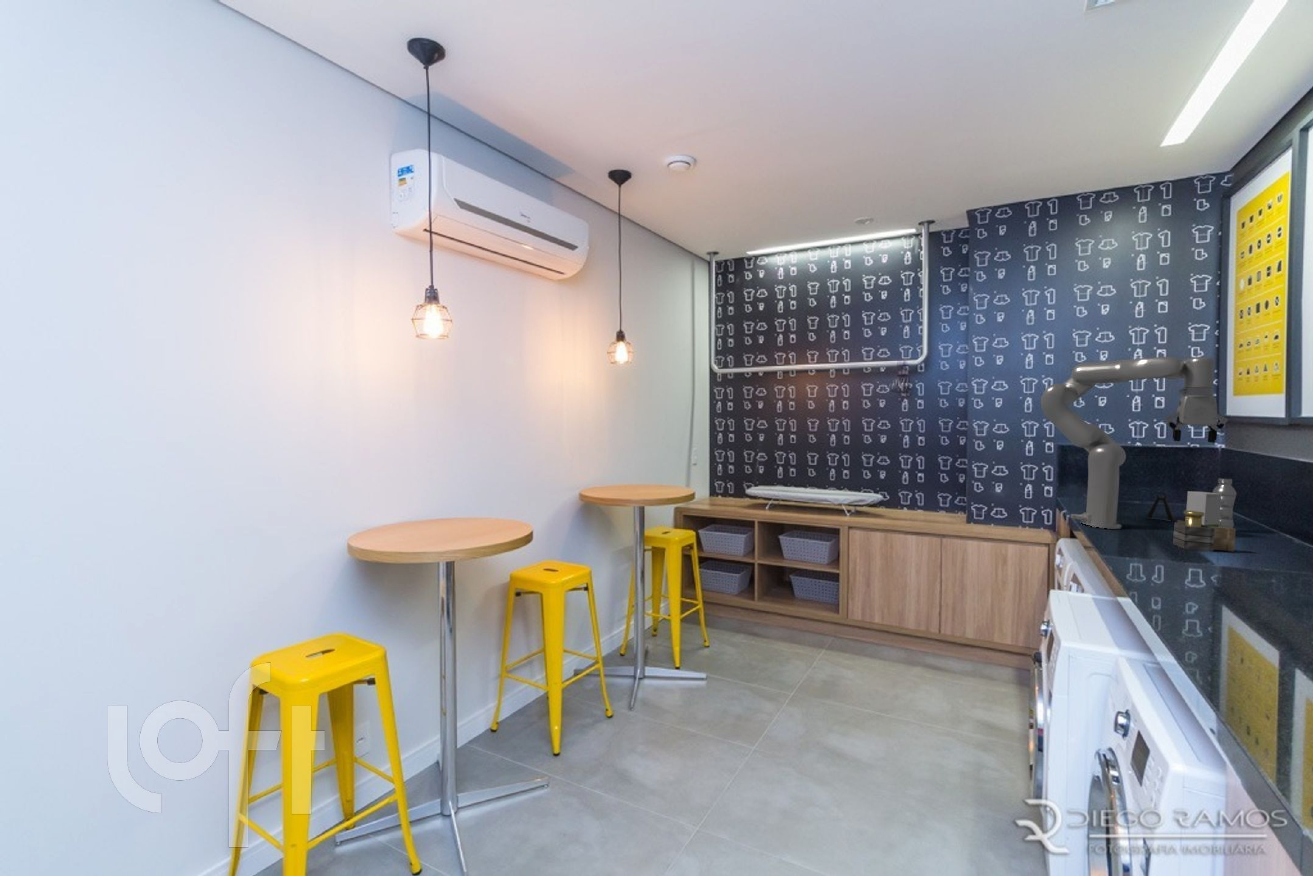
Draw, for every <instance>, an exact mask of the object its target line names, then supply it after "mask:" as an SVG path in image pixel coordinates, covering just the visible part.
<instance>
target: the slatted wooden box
mask: <svg viewBox="0 0 1313 876" xmlns="http://www.w3.org/2000/svg"><path fill="white" fill-rule="evenodd" d="M1173 523H1174V524H1173V526H1174V527H1173V531H1178V532H1181V533H1183V534H1190V535H1202V536H1214V532H1215V529H1214V528H1211V527H1208V526H1206V525H1203V524H1201V527H1192V526H1186V525H1185V520H1182V519H1177V520H1176V521H1174V522H1173ZM1172 539H1173V540H1172V545H1173V544H1174V545H1173V546H1175V545H1177V546H1178V547H1177V546H1176V547H1177V548H1180V547H1181V548H1180V549H1182V548H1183V550H1185V549H1186V551H1187V550H1188V551H1197V550H1199V551H1200V552H1208V551H1210V553H1212V552H1214V549H1213V545H1214V544H1212V543H1205V542H1187V541H1184V540H1181V539H1179V538H1176V537H1174V536H1173V538H1172ZM1199 551H1198V552H1199Z"/></svg>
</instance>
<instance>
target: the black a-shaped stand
mask: <svg viewBox="0 0 1313 876" xmlns="http://www.w3.org/2000/svg"><path fill="white" fill-rule="evenodd" d="M1161 492H1162V494H1164V496H1160V495H1159V494H1160V493H1161ZM1167 494H1168V493H1167V492H1166V491H1165V490H1163V491H1162V490H1158V491H1157V493H1156V498H1155V500H1154V503H1153V504H1152V505H1151V507H1150V509H1149V511H1148V513H1147V515H1146V517H1149V518H1152V517H1154V516H1153V515H1154V513H1155V510H1156V509H1157V506H1158V504H1159V502H1160V501H1163V505H1164V509H1165V514H1166V517H1167V518H1165V517H1160V518H1161V519H1162V518H1163V519H1167V520H1171V521H1174V522H1175V517H1174V515H1173V512H1172V510H1171V508H1170V504H1169V502H1168V500H1167ZM1146 517H1145V518H1146Z"/></svg>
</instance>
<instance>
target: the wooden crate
mask: <svg viewBox="0 0 1313 876" xmlns="http://www.w3.org/2000/svg"><path fill="white" fill-rule="evenodd" d="M1208 527H1211V528H1214V529H1215V532H1214V536H1202V535H1201V536H1197V535H1187V534H1183V533H1181V532H1178V531H1176V530H1173V537H1176V538H1179V539H1181V540H1184V541H1192V542H1205V543H1212V544H1214V545H1213V550H1216V551H1218V550H1219V551H1227V552H1235V546H1236V545H1235V544H1236V543H1235V542H1236V532H1237V531H1236V530H1237V529H1236V528H1234V527H1233V528H1230V527H1213V526H1208Z"/></svg>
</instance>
